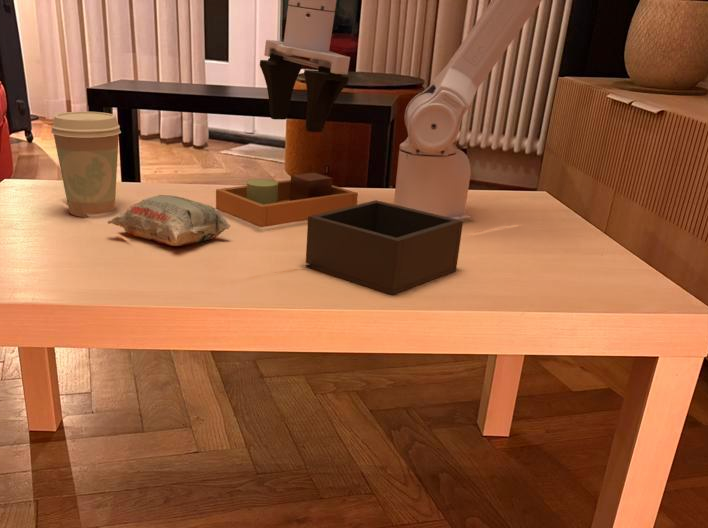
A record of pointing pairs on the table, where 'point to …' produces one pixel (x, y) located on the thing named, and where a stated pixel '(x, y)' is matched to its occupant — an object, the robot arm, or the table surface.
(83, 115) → the coffee cup
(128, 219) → the packaged food
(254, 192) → the green cylinder
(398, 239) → the black basket
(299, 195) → the walnut block
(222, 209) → the brown wooden tray
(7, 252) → the table surface
